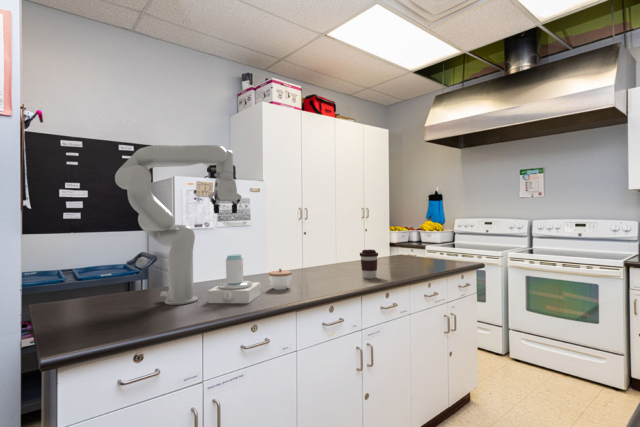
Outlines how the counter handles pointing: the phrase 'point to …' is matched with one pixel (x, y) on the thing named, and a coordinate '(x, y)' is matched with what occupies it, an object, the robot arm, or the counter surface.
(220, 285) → the scale pan
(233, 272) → the can
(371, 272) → the coffee cup
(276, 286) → the lidded jar
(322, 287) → the counter surface
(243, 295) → the scale base
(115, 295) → the counter surface
